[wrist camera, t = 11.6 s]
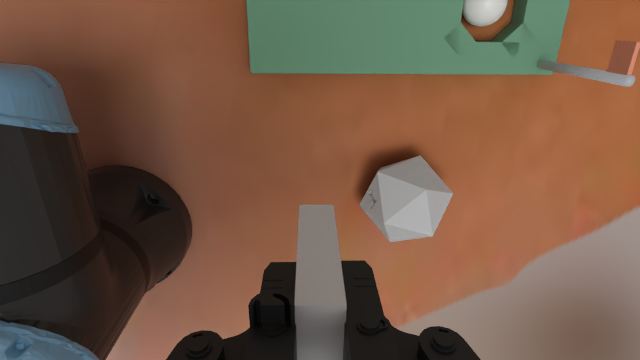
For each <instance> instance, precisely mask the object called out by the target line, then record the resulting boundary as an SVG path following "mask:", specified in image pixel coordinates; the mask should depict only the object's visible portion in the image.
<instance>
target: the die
mask: <svg viewBox="0 0 640 360" xmlns="http://www.w3.org/2000/svg"><path fill="white" fill-rule="evenodd" d="M452 195H453V193H452V191H451V190H450V189H449V188H448V187H447V186H446V184H445V183H444V182H443V181H442V180H441V179H440V177H439V176H438V175H437V174H436V173H435V172H434V171H433V169H432V168H431V167H430V166H429V165H428V164H427V162H426V161H425V160H424V159H423V158H422V157H421V155H420V156H417V157H413V158H410V159H407V160H404V161H400V162H397V163H394V164H391V165H387V166H384V167H381V168H380V169H379V170H378V172H377V174H376V175H375V177H374V179H373V181H372V183H371V185H370V186H369V188H368V190H367V192H366V194H365V196H364V197H363V199H362V201H361V203H360V205H359V206H360V207H361V208H362V209H363V210H364V212H365V213H366V214H367V215H368V216H369V218H370V219H371V220H372V221H373V222H374V224H375V225H376V226H377V227H378V228H379V229H380V231H381V232H382V233H383V234H384V235H385V237H386V238H387V239H388V240H389V241H390V242H394V241H402V240H409V239H416V238H424V237H431V236H433V234H434V232H435V230H436V228H437V226H438V224H439V222H440V220H441V218H442V216H443V214H444V212H445V210H446V208H447V206H448V204H449V202H450V200H451V197H452Z"/></svg>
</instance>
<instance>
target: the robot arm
mask: <svg viewBox="0 0 640 360" xmlns="http://www.w3.org/2000/svg"><path fill="white" fill-rule="evenodd" d="M77 133H79V129H78V127H77V125H75V124H74V122H73V119H72V116H71V114H70V111H69V108H68V105H67V102H66V99H65V96H64V92H63V89H62V87H61V85H60V84H59V82H58V81H57V79H56V78H55V77H54V76H53V75H51V74H50V73H48V72H47V71H45V70H43V69H41V68H38V67H35V66H31V65H23V64H11V63H0V360H106V358H107V356H108V355H109V353H110V351H111V350H112V348H113V346H114V345H115V343H116V341H117V340H118V338H119V336H120V334H121V333H122V331H123V329H124V328H125V326H126V324H127V323H128V321H129V319H130V318H131V316H132V314H133V313H134V311H135V309H136V308H137V306H138V304H139V302H140V301H141V299H142V297H143V296H144V294H145V293H146V292H147V291H149V290H150V289H151V288H153V287H154V286H155V285H156V284H157V283H159V282H161V281H162V280H164V279H165V278H167V277H168V276H169V275H171V274H172V273H173V272H174V271H175V270H176V268H177V267H178V266H179V265H180V263H181V262H182V260H183V258H184V256H185V254H186V252H187V250H188V248H189V245H190V242H191V237H192V226H191V220H190V216H189V213H188V211H187V209H186V207H185V205H184V203H183V202H182V200H181V199H180V197H179V196H178V195H177V194H176V192H175V191H174V190H173V189H172V188H171V187H169V186H168V185H167V184H166V183H165V182H163V181H162V180H160V179H159V178H157V177H155V176H153V175H152V174H149V173H147V172H145V171H142V170H139V169H136V168H131V167H125V166H106V167H101V168H97V169H94V170H91V171H89V172H87V171H86V167H85V163H84V159H83V155H82V151H81V147H80V143H79V139H78V135H77ZM248 306H249V319H250V328H249V329H248V330H246V331H245V332H243V333H241V334H239V335H237V336H234V337H230V338H227V339H223V340H222V338H221V337H220V336H219V335H218V334H217V333H215V332H212V331H198V332H194V333H191V334H189V335H188V336H186V337H184V338H183V339H182V340H181V341H180V342H179V343H178V344H177V345H176V346H175V348H174V349H173V351H172V352H171V353H170V355H169V356H168V358H167V359H166V360H480V358H479V357H478V356H477V355H476V354H475V352H474V351H473V350H472V349H471V347H470V346H469V345H468V344H467V342H466V341H465V340H464V339H463V338H462V337H461V336H460V335H459V334H458V333H456V332H454V331H452V330H450V329H448V328H444V327H440V326H438V327H437V326H436V327H429V328H427V329H424V330H423V331H422V333H421V334H420V336H417V335H413V334H408V333H405V332H402V331H400V330H398V329H396V328H394V327H393V326H392V325H391V324H390V322H389V320H388V319H387V318H386V317H385V316H384V313H383V309H382V306H381V302H380V298H379V294H378V290H377V287H376V282H375V279H374V274H373V270H372V268H371V267H370V266H369V265H368V264H367V263H366V262H365V261H341V258H340V251H339V243H338V236H337V228H336V221H335V213H334V206H333V205H299V224H298V243H297V262H271V263H270V264H269V265H268V267H267V268H266V269H265V270H264V274H263V281H262V286H261V291H260V294H258V295H256V296H255V297H254V298H253V299H251V301H250V303H249V305H248Z"/></svg>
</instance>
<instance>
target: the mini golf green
mask: <svg viewBox="0 0 640 360" xmlns="http://www.w3.org/2000/svg"><path fill="white" fill-rule="evenodd" d="M246 2H247V19H248V37H249V54H250V71H251V73H321V74H521V75H553V73H554V72H559V73H564V74H569V75H574V76H578V77H583V78H588V79H593V80H598V81H602V82H607V83H612V84H617V85H622V86H626V87H629V86H631V85H633V84H634V82H635V77H634V76H633V75H631V74H632V70H633V67H634V64H635V60H636V57H637V54H638V51H639V47H640V42H631V41H615V45H614V49H613V52H612V56H611V59H610V63H609V67H608V70H607V71H604V70H598V69H592V68H586V67H580V66H575V65H569V64H563V63H557V62H556V60H557V56H558V51H559V47H560V42H561V38H562V34H563V29H564V25H565V21H566V16H567V12H568V8H569V3H570V0H515V2H514V7H513V13H512V19H511V23H510V24H509V25H508V26H507V27H505V28H504V29H503V30H502V31H501V32H500V33H499V34H498V35H497V36H496V37H494V38H493V39H492V40H491V41H475V40H474V39H473V37H472V36H471V35H470V34H469V32H468V31H467V30H466V28H465V27H464V26H463V25H462V23H461V16H462V9H463V2H464V0H246Z"/></svg>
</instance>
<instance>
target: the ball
mask: <svg viewBox="0 0 640 360" xmlns="http://www.w3.org/2000/svg"><path fill="white" fill-rule="evenodd" d="M506 6H507V0H464V2H463V9H462V14H463V16H464V18H465V20H466V21H467V22H468V23H470V24H472V25H474V26H479V27H482V26H488V25H490V24H492V23H494V22H496V21H497V20H498V19H499V18H500V17H501V16H502V15H503V13H504V11H505V9H506Z"/></svg>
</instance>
